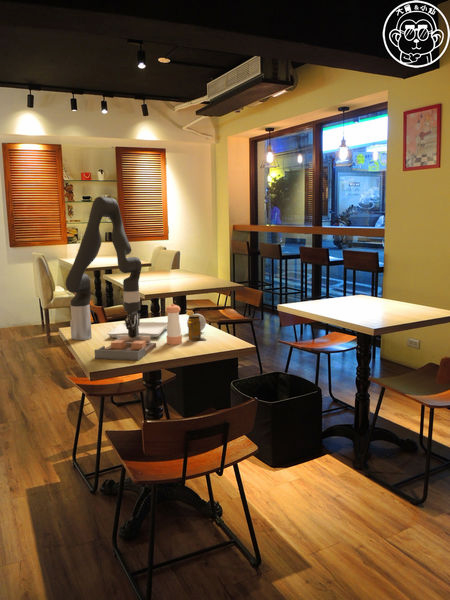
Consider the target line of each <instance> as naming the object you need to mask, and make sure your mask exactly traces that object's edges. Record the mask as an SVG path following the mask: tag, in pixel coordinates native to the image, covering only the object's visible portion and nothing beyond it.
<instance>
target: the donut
mask: <svg viewBox="0 0 450 600" xmlns="http://www.w3.org/2000/svg"><path fill="white" fill-rule="evenodd" d="M192 315H198V316H199V319H200V327H201V332H202V331H203V330H204V329H205V327H206V326H207V325H206V323H207V321H206V319H205V317H204V315H202V314H200V313H193V314H192ZM188 321H189V317H188V319H187V321H186V324H187V327H188Z"/></svg>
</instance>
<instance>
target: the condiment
mask: <svg viewBox="0 0 450 600" xmlns="http://www.w3.org/2000/svg"><path fill="white" fill-rule="evenodd" d="M188 318H189V321H188V320H187V321H188V326H187V327H188V329H187V330H188V331H187V332H188V337H187V338H186V339H187V340H188V342H197V341H207V339H206V338H205V337H204V336H201V335H202V333H201V332H202V331H201V327H200V319H199V316H198V315H193V314H191V315H189V316H188Z"/></svg>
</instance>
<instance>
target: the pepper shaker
mask: <svg viewBox="0 0 450 600" xmlns="http://www.w3.org/2000/svg"><path fill="white" fill-rule="evenodd" d="M165 312H166V313H167V322H168V324H167V328H166V344H167V345H172V346H173V345H180V344H182V343H183V341H182V339H183V338H182V328H181V325H180V324H181V323H180V312H181V307H180V306H179V305H177V304H174V303H171V304H170V305H168V306H166V308H165Z"/></svg>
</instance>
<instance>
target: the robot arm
mask: <svg viewBox="0 0 450 600" xmlns="http://www.w3.org/2000/svg"><path fill="white" fill-rule="evenodd" d="M89 212H90V213H89V216H88V220H87V221H88V222H87V223H86V227H85V230H84V233H83V236H82V239H81V241H80V244H79V247H78V251H77V253H76V256H75V258H74V261H73V263H72V266H71V268H70V270H69V272H68V274H67V277H66V278H65V288H66V290H67V292H69V293H74V294H75V295H74V297H73V298H72V299H70V311H71V312H70V314H71V315H70V316H71V320H70V321H69V322H70V323H69V325H70V336H71V337H70V338H71V340H75V341H83V340H84V341H85V340H86V341H87V340H89V339H91V338H93V336H92V321H91V306H90V303H91V302H90V301H91V298H92V296H91V295H92V293H91V289H92V288H91V287H92V286H91V279H90V276H88V274H87V273H85V272H86V270H87V268H88V267H89V266H90V265H91V264H92V263H93V261H94V260H95V259H96V258H97V256H98V254H99V252H100V249H101V246H102V236H101V233H100V226H101V222H102V220H103V219H102V218H103V217H104V218H109V220H110V222H111V223H112V231H111V242H112V244H113V247H114V250H115V252H116V259H117V268H118V270H119V271H120V272H121V273H123V274H129V276H128V277H125V278H124V279H123V280H122V286H123V295H122V297H123V311H124V312H127V313H126V314H127V315H126V317H125V318H124V323H126V327H127V329H129V334H130V338H134V337H135V334H134V325H138V326H139V322H140V321H141V320H140V318H141V313H138V311H139V312H140V311H141V295H140V288H139V287H140V285H139V284H140V283H139V281H140V277H141V272H142V269H143V268H142V266H143V265H142V261H141V260H140V258H139V257H138V256H137V257H136V256H131V257H130V256H128V257H127V255H129V254H131V252H132V247H131V244H130V241H129V239H128V237H127V234H126V231H125V227H124V222H123V218H122V214H121V210H120V206H119V203H118V201H117V199H115V198H113V197H106V196H97V197H95V198H94V200H93V202H92V205H91V208H90V211H89Z"/></svg>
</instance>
